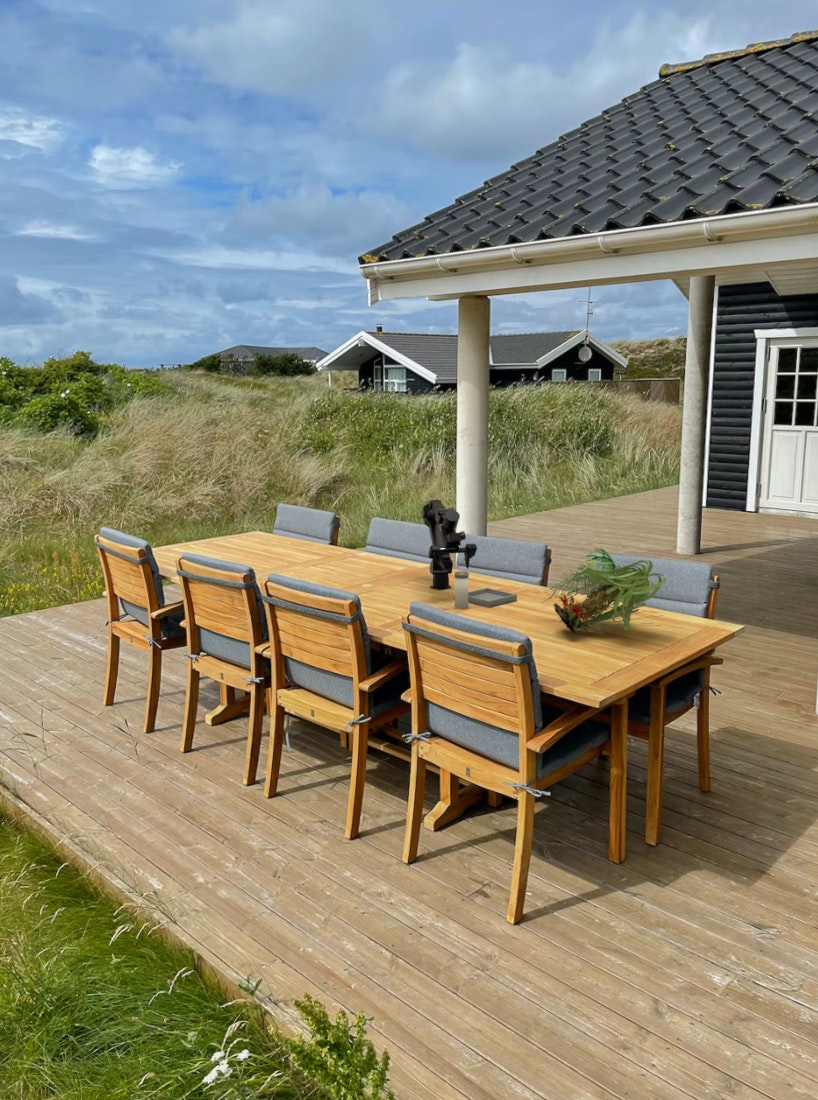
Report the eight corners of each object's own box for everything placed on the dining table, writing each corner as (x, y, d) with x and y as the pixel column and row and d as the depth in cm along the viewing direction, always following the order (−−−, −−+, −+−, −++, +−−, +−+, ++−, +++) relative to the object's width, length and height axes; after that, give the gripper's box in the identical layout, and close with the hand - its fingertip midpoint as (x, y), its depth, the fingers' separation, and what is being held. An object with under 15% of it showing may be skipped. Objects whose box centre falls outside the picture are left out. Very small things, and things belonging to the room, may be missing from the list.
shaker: (451, 607, 332) (451, 572, 330) (461, 604, 336) (461, 570, 333) (461, 609, 328) (461, 575, 326) (471, 607, 332) (471, 572, 329)
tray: (459, 600, 342) (459, 594, 342) (487, 593, 353) (487, 587, 352) (489, 607, 331) (489, 601, 330) (516, 600, 341) (516, 594, 341)
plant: (534, 594, 318) (632, 544, 316) (580, 678, 303) (683, 626, 302) (524, 562, 286) (633, 507, 284) (575, 654, 272) (690, 596, 270)
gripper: (429, 525, 337) (436, 558, 329) (475, 523, 341) (483, 556, 332) (425, 541, 346) (431, 574, 338) (470, 539, 350) (477, 572, 341)
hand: (456, 568), depth 337 cm, fingers open, 9 cm apart
